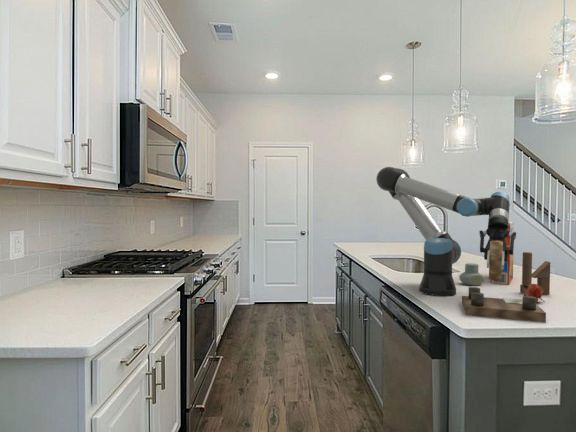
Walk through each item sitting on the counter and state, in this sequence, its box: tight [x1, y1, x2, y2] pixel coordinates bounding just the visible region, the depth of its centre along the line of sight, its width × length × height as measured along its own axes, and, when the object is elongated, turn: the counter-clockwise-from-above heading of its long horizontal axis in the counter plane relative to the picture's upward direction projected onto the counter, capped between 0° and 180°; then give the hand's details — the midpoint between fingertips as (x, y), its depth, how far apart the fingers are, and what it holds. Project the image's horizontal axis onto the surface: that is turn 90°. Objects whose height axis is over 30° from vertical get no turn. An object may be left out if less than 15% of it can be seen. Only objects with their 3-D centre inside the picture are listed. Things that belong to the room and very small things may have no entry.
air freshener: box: [458, 262, 485, 287], centre depth 194 cm, size 11×8×10 cm
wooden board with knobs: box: [461, 286, 547, 323], centre depth 143 cm, size 24×18×7 cm
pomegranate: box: [522, 283, 546, 303], centre depth 159 cm, size 7×7×10 cm
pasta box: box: [490, 221, 515, 286], centre depth 205 cm, size 23×8×30 cm, turn 147°
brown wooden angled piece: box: [519, 251, 551, 296], centre depth 174 cm, size 4×11×18 cm, turn 87°
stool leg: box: [488, 241, 503, 281], centre depth 156 cm, size 4×4×15 cm
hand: (495, 266), depth 153 cm, fingers closed on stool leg, 4 cm apart
